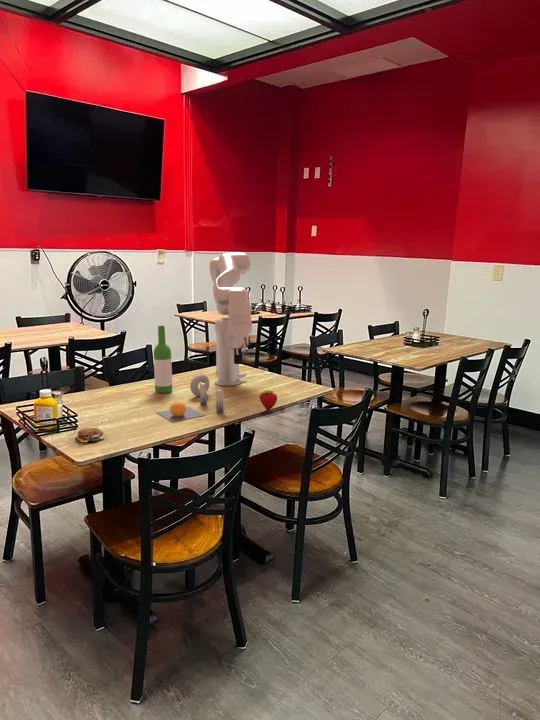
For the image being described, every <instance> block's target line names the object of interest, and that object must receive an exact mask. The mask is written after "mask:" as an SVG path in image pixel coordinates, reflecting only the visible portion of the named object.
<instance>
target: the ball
mask: <svg viewBox="0 0 540 720" xmlns="http://www.w3.org/2000/svg"><path fill="white" fill-rule="evenodd" d="M186 407H187V406H186V405H185V404H184V403H183V402H182V401H174V402H172V403H171V405H170V408H169V410H170V412H171V414H172V415H173V416H175V417H181V416H183V415H184V413H185V411H186Z"/></svg>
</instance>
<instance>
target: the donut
mask: <svg viewBox="0 0 540 720" xmlns="http://www.w3.org/2000/svg"><path fill="white" fill-rule="evenodd" d="M200 383H207V392H208V391H209V388H210V380H209V377H207V375H206V374H204V373H198V374H196V375H194V376H193V377H192V379H191V381H190V385H189V387H190V392H191V393H192V394H193V396H195V397H200V387H199V385H200Z"/></svg>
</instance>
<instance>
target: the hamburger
mask: <svg viewBox="0 0 540 720" xmlns="http://www.w3.org/2000/svg"><path fill="white" fill-rule="evenodd" d="M75 436H76V437H75V439H76V438H77V439H76V440H78V441H79V442H80V443H81V442H82V443H83V442H84V441H86V442H87V443H89V442H88V441H92V442H95V441H100V440H104V439H105V435H104V431H102V430H101V429H100V428H98V427H85V428H82V429H80V430H78V431H77V433H76V435H75ZM103 438H104V439H103ZM99 439H100V440H99Z"/></svg>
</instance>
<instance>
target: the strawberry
mask: <svg viewBox="0 0 540 720" xmlns="http://www.w3.org/2000/svg"><path fill="white" fill-rule="evenodd" d="M262 391H263V392H261V393H260V394H259V401H260V403H261V405H262V406H263V408H265V410H266V411H267V412H269V411H271V410H272V409H273V407H274V406H275V405H276V404H277V401H278V396H277V394H275V392H274V391H273V390H270V389H269V390H268V389H266V390H262Z"/></svg>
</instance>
